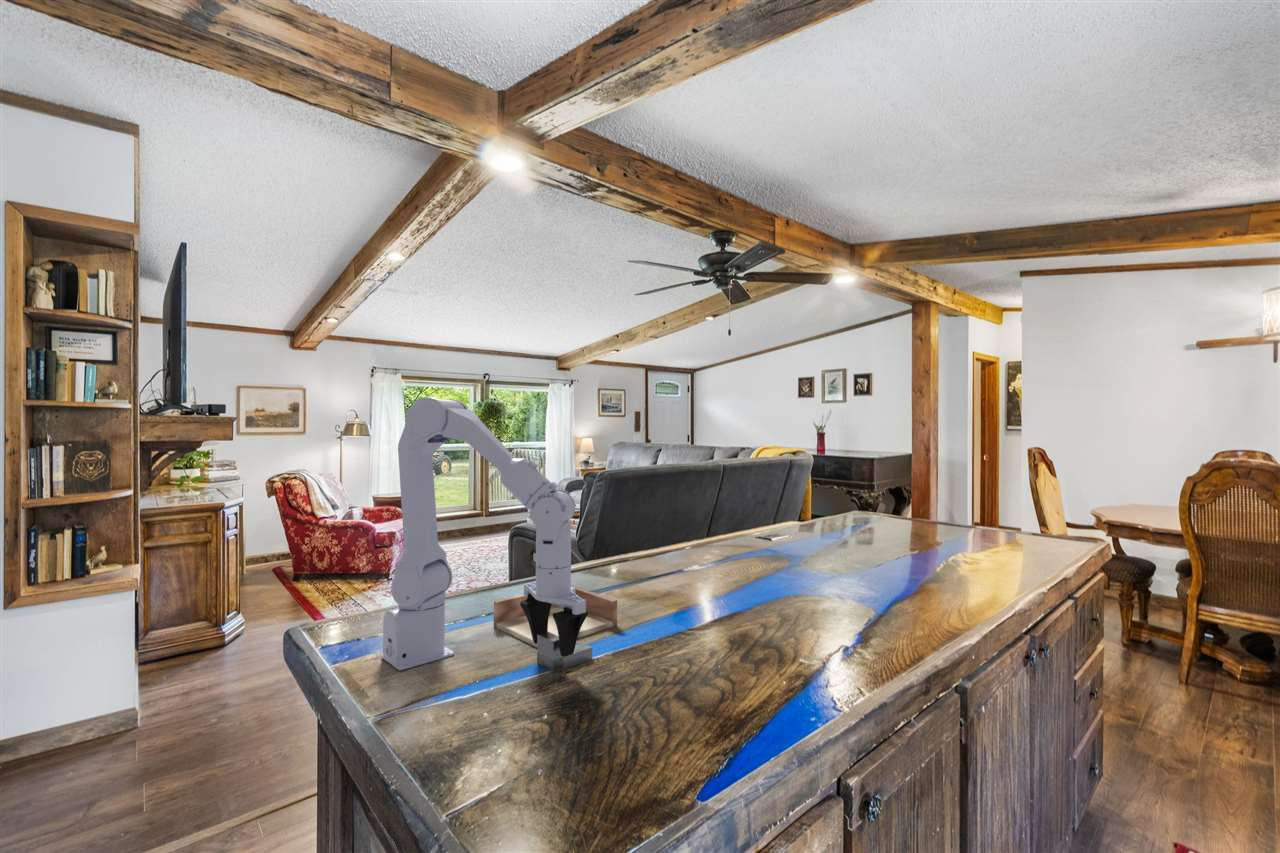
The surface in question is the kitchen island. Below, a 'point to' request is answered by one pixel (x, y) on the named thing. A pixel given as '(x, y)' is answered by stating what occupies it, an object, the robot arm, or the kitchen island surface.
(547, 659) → the angle bracket
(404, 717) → the kitchen island surface
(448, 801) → the kitchen island surface
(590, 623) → the corner arena
